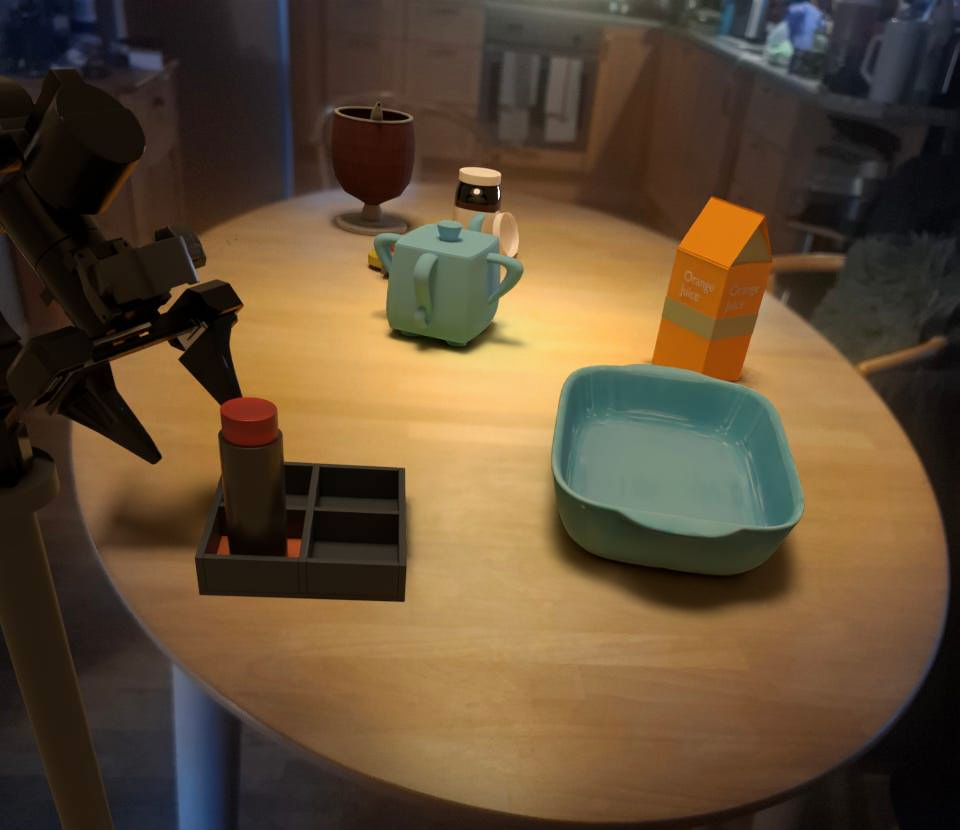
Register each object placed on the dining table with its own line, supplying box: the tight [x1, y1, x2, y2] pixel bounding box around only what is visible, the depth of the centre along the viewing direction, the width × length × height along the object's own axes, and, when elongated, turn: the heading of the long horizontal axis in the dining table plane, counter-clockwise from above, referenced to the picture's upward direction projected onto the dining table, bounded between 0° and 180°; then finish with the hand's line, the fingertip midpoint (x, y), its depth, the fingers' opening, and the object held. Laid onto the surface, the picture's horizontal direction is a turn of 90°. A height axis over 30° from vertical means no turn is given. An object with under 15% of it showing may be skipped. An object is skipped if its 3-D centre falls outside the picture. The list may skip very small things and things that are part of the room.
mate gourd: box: [330, 101, 416, 237], centre depth 149 cm, size 16×14×20 cm
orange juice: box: [651, 195, 774, 382], centre depth 109 cm, size 8×9×20 cm
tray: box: [194, 461, 408, 603], centre depth 74 cm, size 16×16×4 cm
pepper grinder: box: [217, 396, 288, 557], centre depth 68 cm, size 5×5×13 cm
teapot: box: [373, 213, 525, 347], centre depth 115 cm, size 18×16×14 cm
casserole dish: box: [550, 363, 806, 576], centre depth 86 cm, size 37×22×7 cm, turn 172°
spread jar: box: [452, 166, 520, 258], centre depth 146 cm, size 12×11×12 cm
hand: (202, 439), depth 67 cm, fingers open, 9 cm apart
